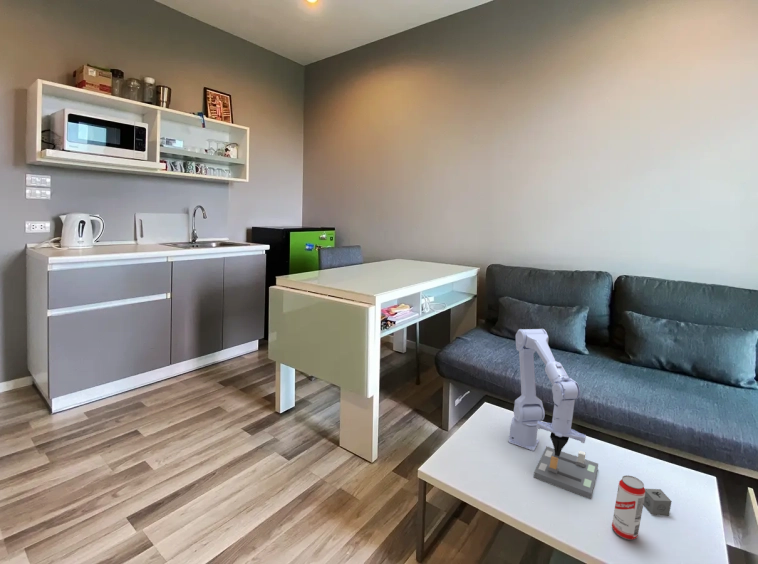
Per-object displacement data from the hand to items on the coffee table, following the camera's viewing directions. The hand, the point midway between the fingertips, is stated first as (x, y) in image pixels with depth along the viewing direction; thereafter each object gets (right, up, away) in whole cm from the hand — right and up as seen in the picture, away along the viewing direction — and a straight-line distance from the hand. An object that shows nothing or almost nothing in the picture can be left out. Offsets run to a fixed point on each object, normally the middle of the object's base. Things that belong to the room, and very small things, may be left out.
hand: (557, 454), depth 133 cm
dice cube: (+24, -12, -12) cm, 29 cm away
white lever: (+10, -6, +5) cm, 13 cm away
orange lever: (-1, -6, +2) cm, 6 cm away
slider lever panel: (+5, -8, +4) cm, 10 cm away
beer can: (+9, -13, -21) cm, 26 cm away
